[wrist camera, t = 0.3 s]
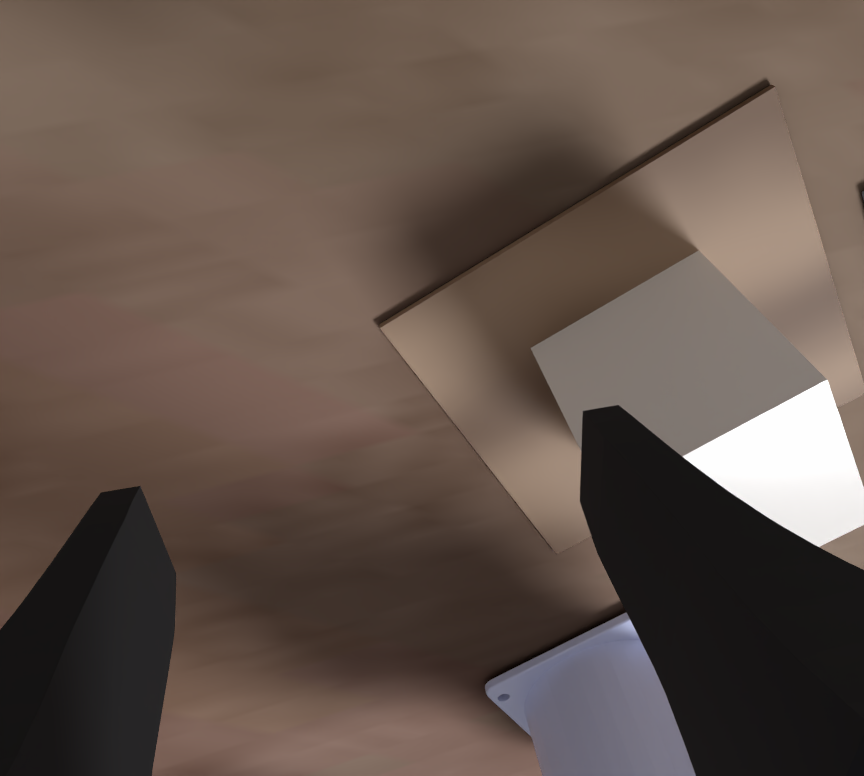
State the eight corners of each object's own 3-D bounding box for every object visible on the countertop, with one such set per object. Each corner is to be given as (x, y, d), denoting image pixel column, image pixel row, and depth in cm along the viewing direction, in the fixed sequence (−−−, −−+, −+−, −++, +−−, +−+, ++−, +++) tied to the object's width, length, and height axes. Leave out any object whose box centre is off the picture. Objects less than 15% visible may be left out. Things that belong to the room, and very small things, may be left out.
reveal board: (863, 389, 27) (867, 393, 27) (555, 550, 29) (556, 554, 29) (770, 84, 20) (775, 86, 20) (379, 324, 22) (380, 328, 22)
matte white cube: (752, 377, 26) (874, 519, 20) (601, 458, 27) (681, 614, 21) (698, 250, 23) (827, 379, 17) (530, 347, 24) (604, 498, 18)
